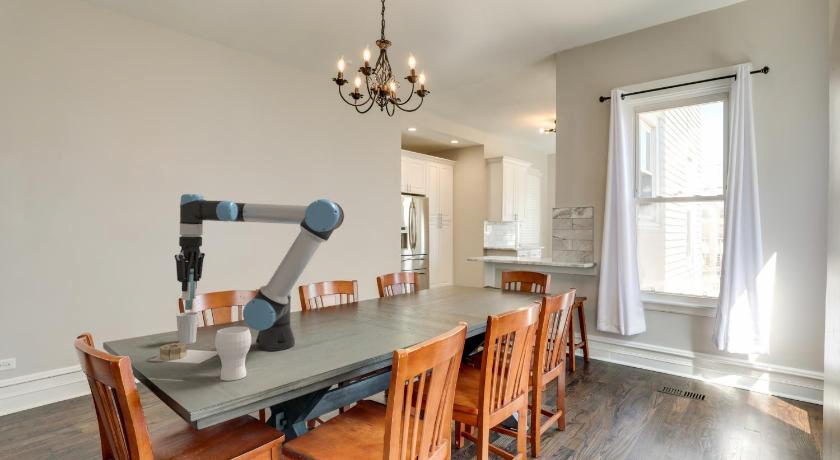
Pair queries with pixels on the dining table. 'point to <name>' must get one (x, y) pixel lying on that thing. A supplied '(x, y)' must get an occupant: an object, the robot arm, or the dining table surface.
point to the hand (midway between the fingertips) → (189, 299)
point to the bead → (173, 351)
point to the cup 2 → (233, 351)
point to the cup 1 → (187, 327)
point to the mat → (192, 357)
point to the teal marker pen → (190, 302)
